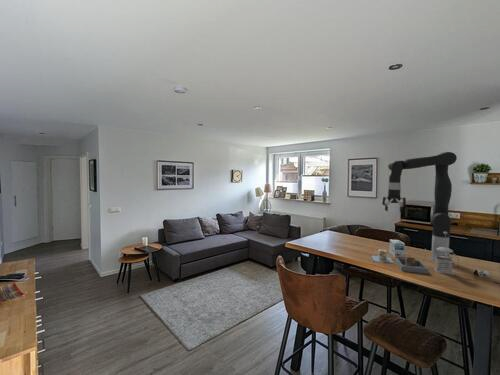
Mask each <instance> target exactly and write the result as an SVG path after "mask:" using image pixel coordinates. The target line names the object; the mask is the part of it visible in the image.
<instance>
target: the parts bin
mask: <svg viewBox="0 0 500 375" xmlns="http://www.w3.org/2000/svg"><path fill="white" fill-rule="evenodd" d="M395 263H396V265H397V266H398V267H399V269H400V271H403V272H409V273H418V274H424V275H426V274H427V275H429V268H428V267H427V266H426V265H425V264H424V263H423V262H422V261H421V260H417V259H415V267H412V266H406V265H405V258H404V257H395Z"/></svg>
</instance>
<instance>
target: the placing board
mask: <svg viewBox="0 0 500 375" xmlns="http://www.w3.org/2000/svg"><path fill="white" fill-rule="evenodd" d="M371 258H372V261H373V262H382V263H390V264H394V261H393V260H392V258H391V256H390V257H388V256H387V258H386V260H379V259H378V255H371Z"/></svg>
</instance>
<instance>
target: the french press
mask: <svg viewBox="0 0 500 375" xmlns="http://www.w3.org/2000/svg"><path fill="white" fill-rule="evenodd" d="M444 234H445V237H446V234H447V232H444ZM436 249H437V250H438V251H441V252H444V255H437V256H438V257H436V261H435V268H434V271H435V272H437V273H440V274H444V275H451V276H454V275H455V274H454V273H453V267H456V266H457V265H459V262H460V259H459V256H458V255H457V254H455V253H454V250H453V249H451V248H446V247H439V248H436ZM445 252H446V253H450V254H451V256H452V257H451V256H450V257H449V256H446V255H445ZM453 256H455V257H456V258H457V260H458V261H457V263H454V264H453ZM443 259H446V260H449V261H446V260H443Z"/></svg>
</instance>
